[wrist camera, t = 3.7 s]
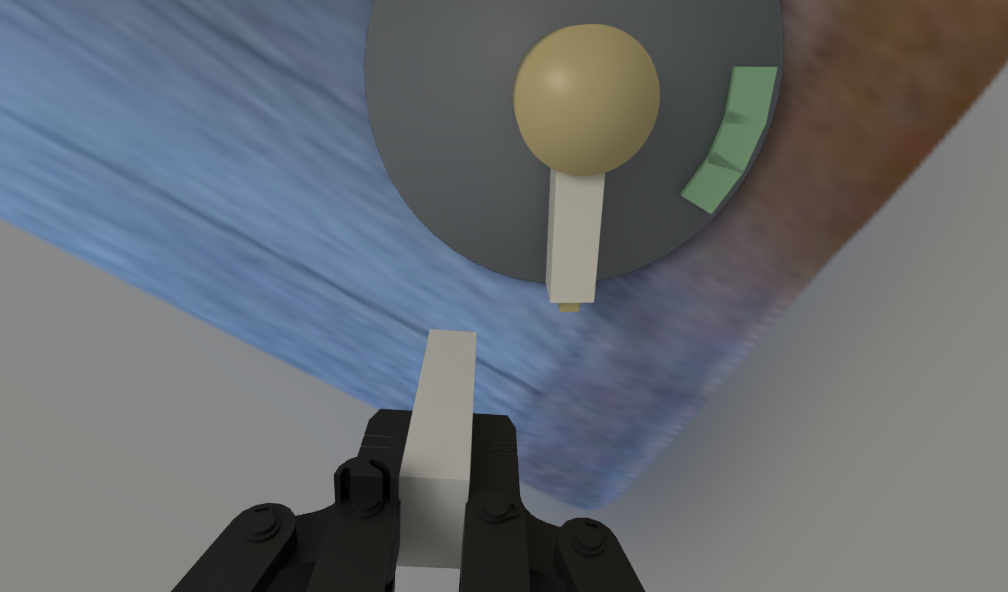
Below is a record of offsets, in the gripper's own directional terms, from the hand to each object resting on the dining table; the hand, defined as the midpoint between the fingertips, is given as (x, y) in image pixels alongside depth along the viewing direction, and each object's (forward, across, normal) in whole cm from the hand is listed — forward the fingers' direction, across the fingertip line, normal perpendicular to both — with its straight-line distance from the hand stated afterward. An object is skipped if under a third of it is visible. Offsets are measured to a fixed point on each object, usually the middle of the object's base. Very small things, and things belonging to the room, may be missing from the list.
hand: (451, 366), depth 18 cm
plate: (+14, +5, +8) cm, 16 cm away
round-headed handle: (+13, +5, +4) cm, 14 cm away
